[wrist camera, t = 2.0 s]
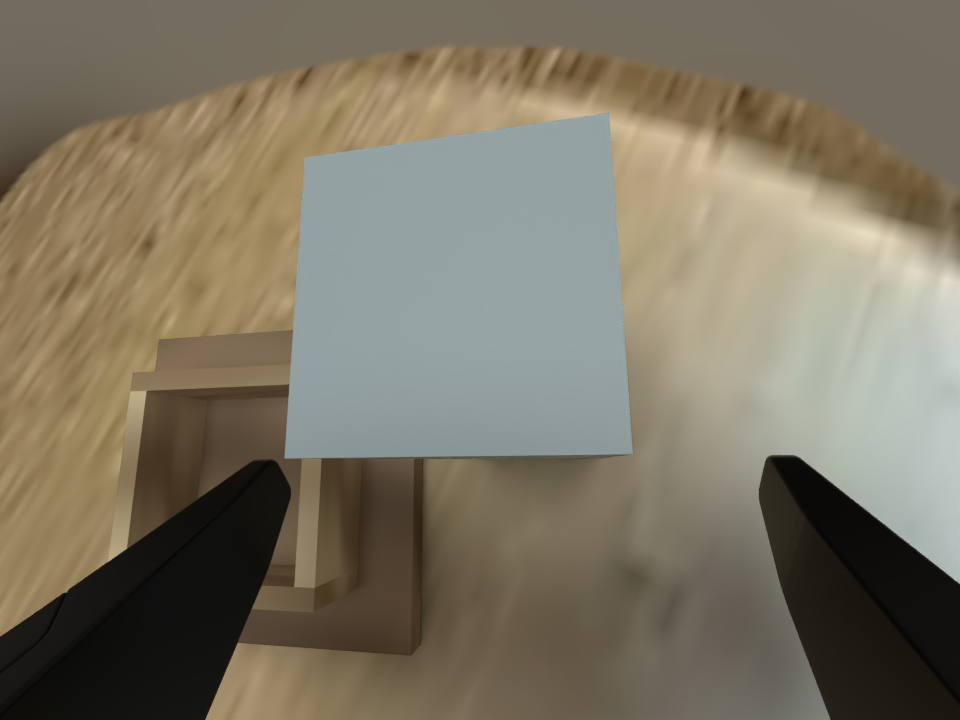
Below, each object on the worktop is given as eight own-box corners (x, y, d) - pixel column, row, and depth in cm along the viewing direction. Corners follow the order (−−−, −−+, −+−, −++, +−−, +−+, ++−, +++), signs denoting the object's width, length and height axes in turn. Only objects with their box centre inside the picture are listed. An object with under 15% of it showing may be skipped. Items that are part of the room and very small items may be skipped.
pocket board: (420, 645, 18) (375, 694, 14) (144, 626, 21) (43, 664, 17) (424, 328, 20) (386, 297, 17) (176, 344, 23) (94, 321, 19)
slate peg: (601, 457, 18) (633, 454, 6) (483, 459, 19) (284, 458, 6) (594, 340, 19) (608, 113, 6) (481, 347, 20) (304, 157, 7)
